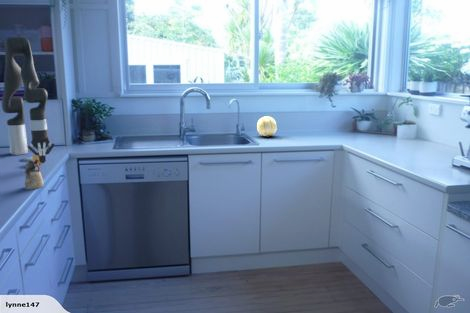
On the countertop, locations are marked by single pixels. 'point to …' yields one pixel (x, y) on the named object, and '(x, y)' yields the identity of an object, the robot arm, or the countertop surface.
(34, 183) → the figurine
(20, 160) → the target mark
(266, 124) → the cantaloupe
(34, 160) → the ball
